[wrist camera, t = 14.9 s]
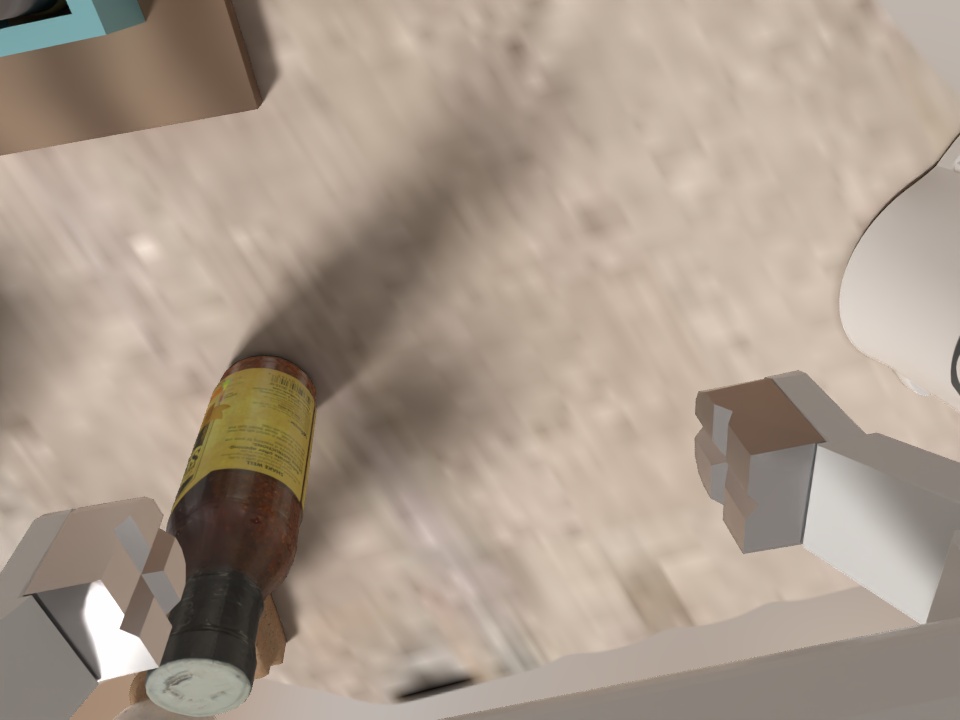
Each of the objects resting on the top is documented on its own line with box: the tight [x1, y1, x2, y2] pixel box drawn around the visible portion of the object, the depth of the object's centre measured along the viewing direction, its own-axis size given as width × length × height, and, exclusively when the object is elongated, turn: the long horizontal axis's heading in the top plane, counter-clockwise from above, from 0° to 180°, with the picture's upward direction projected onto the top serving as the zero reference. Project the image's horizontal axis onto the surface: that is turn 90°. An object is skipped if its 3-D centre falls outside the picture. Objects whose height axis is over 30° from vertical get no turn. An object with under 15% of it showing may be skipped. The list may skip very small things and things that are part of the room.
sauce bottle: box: [145, 356, 316, 717], centre depth 35 cm, size 7×6×20 cm
